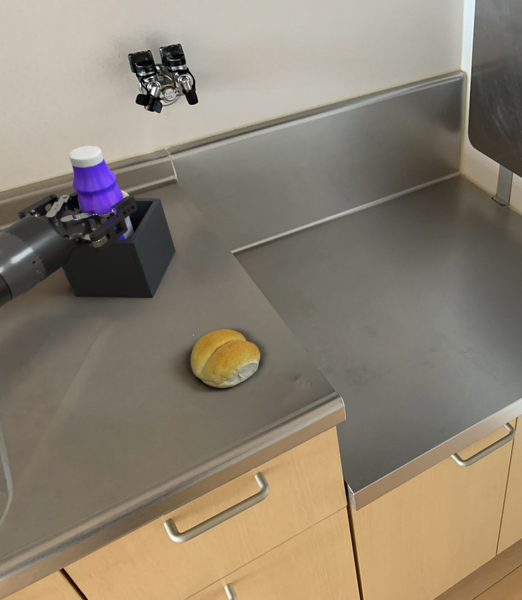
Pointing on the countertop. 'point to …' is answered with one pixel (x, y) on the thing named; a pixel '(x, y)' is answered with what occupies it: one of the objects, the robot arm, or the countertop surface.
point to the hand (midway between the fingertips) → (113, 195)
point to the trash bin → (125, 258)
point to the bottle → (96, 184)
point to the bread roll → (224, 358)
